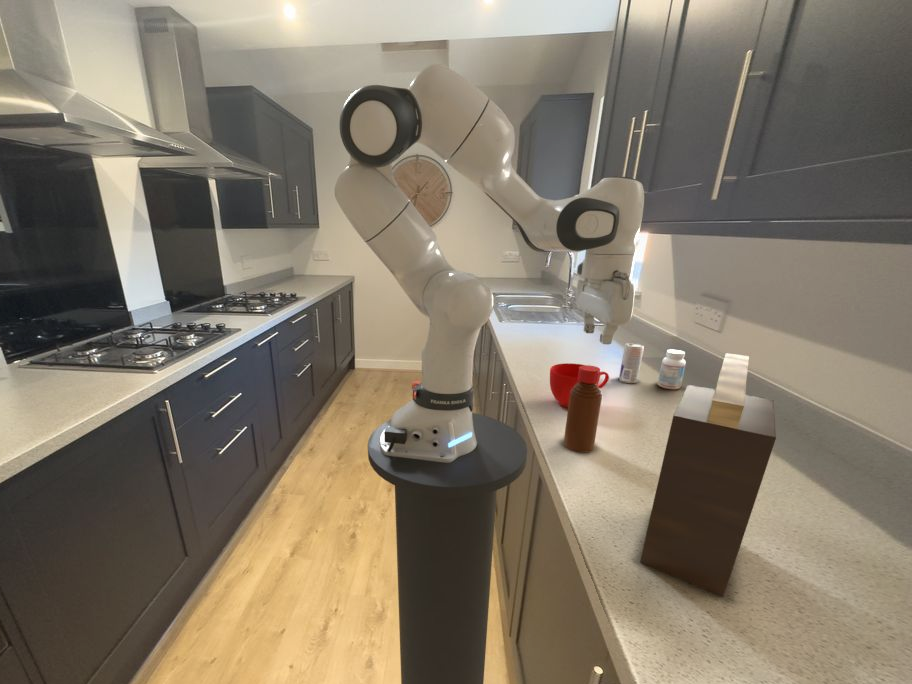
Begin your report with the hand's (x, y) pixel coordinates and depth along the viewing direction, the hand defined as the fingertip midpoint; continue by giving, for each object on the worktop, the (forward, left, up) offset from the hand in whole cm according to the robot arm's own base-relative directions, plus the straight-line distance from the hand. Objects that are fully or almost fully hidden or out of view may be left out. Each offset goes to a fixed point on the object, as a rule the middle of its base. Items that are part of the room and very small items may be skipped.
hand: (596, 337), depth 85 cm
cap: (0, 0, -7) cm, 7 cm away
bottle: (0, 0, -25) cm, 25 cm away
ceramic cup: (+7, +25, -26) cm, 37 cm away
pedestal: (+5, -33, -25) cm, 42 cm away
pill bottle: (+39, +39, -26) cm, 61 cm away
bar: (+8, -28, -1) cm, 30 cm away
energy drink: (+29, +44, -26) cm, 59 cm away
